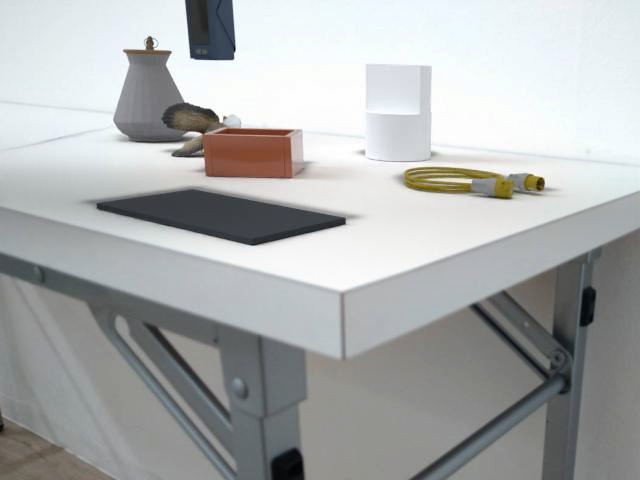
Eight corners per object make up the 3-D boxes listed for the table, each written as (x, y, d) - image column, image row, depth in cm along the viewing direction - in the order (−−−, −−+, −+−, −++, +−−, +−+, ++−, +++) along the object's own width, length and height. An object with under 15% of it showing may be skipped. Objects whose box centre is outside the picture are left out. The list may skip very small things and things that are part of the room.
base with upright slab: (442, 156, 104) (444, 65, 100) (409, 163, 96) (410, 65, 92) (387, 151, 108) (387, 63, 104) (352, 157, 100) (350, 63, 96)
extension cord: (444, 203, 71) (445, 182, 70) (386, 178, 84) (386, 160, 84) (552, 196, 76) (553, 177, 75) (481, 174, 89) (482, 157, 88)
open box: (205, 176, 82) (202, 134, 81) (224, 165, 90) (221, 127, 89) (292, 178, 83) (290, 136, 81) (303, 167, 91) (302, 129, 89)
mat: (96, 208, 64) (95, 202, 64) (193, 194, 72) (192, 188, 72) (252, 245, 54) (252, 238, 54) (346, 223, 61) (346, 217, 61)
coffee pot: (195, 143, 110) (185, 34, 105) (111, 143, 107) (97, 31, 102) (195, 129, 129) (187, 37, 124) (124, 129, 126) (112, 34, 121)
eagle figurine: (215, 139, 106) (153, 130, 99) (233, 97, 102) (170, 85, 95) (235, 174, 103) (173, 167, 96) (255, 132, 99) (191, 122, 92)
